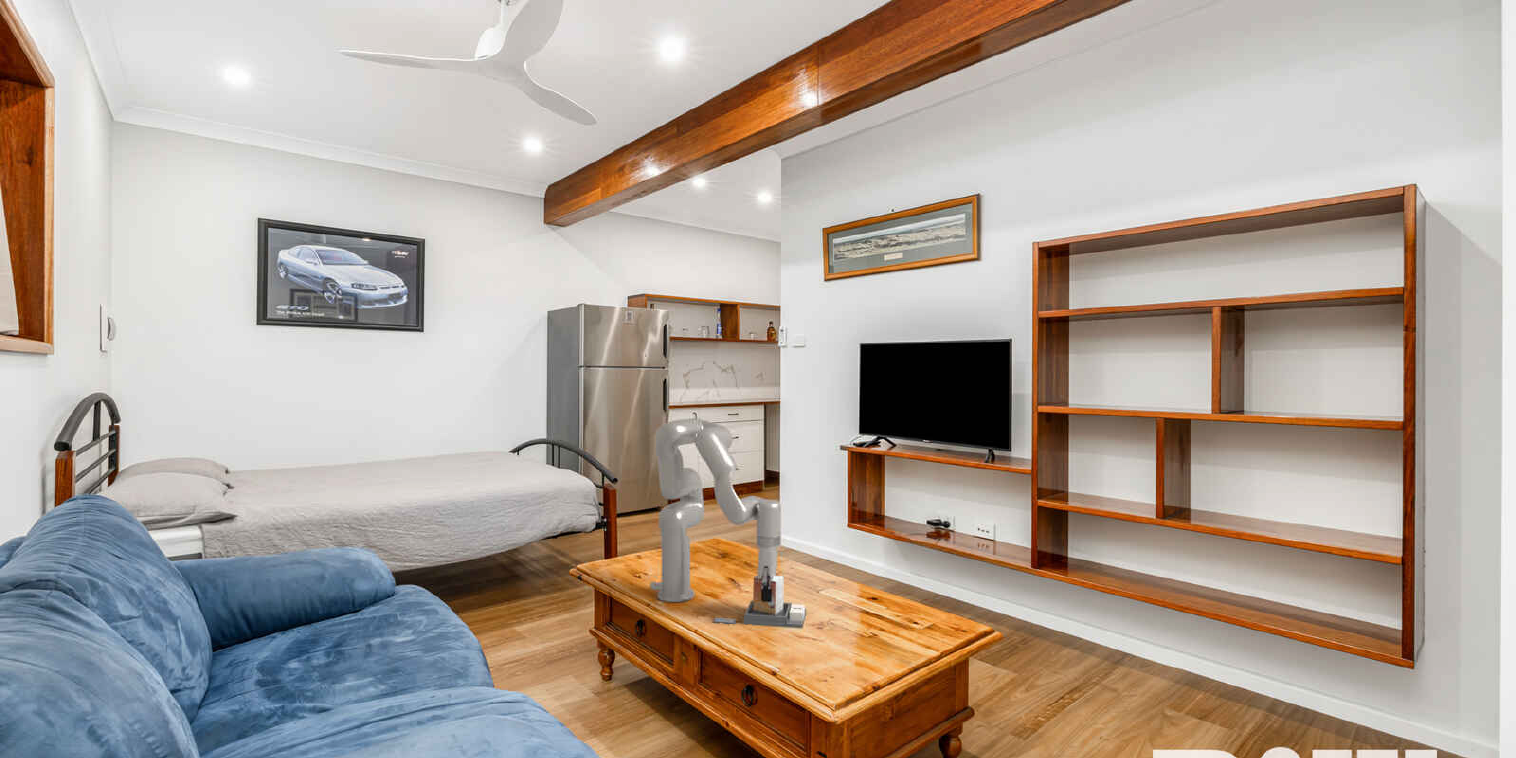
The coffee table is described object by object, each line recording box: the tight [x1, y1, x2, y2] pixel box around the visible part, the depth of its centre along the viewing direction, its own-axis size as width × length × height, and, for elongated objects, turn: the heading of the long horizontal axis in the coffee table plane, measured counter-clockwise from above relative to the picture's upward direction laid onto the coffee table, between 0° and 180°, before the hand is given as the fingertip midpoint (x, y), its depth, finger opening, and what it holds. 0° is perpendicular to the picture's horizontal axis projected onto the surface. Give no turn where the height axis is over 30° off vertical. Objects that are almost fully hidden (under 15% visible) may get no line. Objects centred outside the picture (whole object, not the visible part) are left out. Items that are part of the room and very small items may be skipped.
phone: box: [712, 617, 738, 626], centre depth 207 cm, size 7×3×1 cm, turn 77°
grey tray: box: [742, 600, 807, 629], centre depth 210 cm, size 18×13×4 cm
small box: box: [752, 574, 785, 615], centre depth 211 cm, size 8×6×10 cm
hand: (768, 596), depth 211 cm, fingers closed on small box, 6 cm apart
